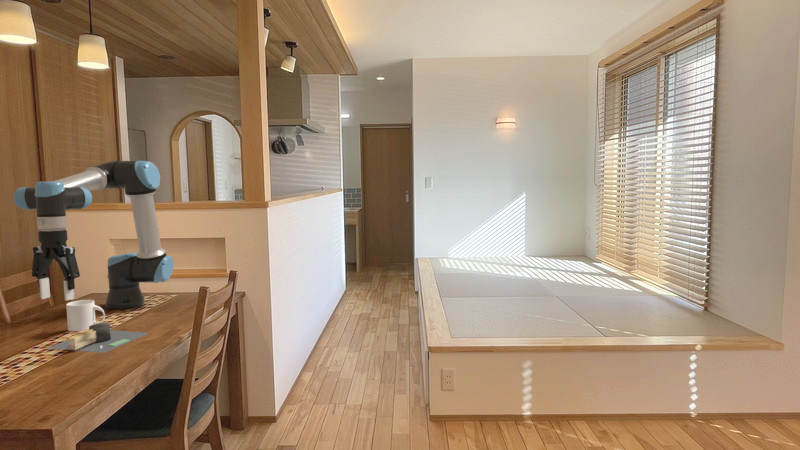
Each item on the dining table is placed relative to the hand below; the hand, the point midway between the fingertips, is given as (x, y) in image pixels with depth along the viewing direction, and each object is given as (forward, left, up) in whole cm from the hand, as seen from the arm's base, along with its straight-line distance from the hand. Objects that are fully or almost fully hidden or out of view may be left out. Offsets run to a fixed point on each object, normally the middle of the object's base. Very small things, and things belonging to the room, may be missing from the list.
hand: (57, 298), depth 153 cm
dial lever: (-4, +7, -16) cm, 18 cm away
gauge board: (-9, +7, -17) cm, 21 cm away
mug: (-20, -10, -18) cm, 28 cm away
